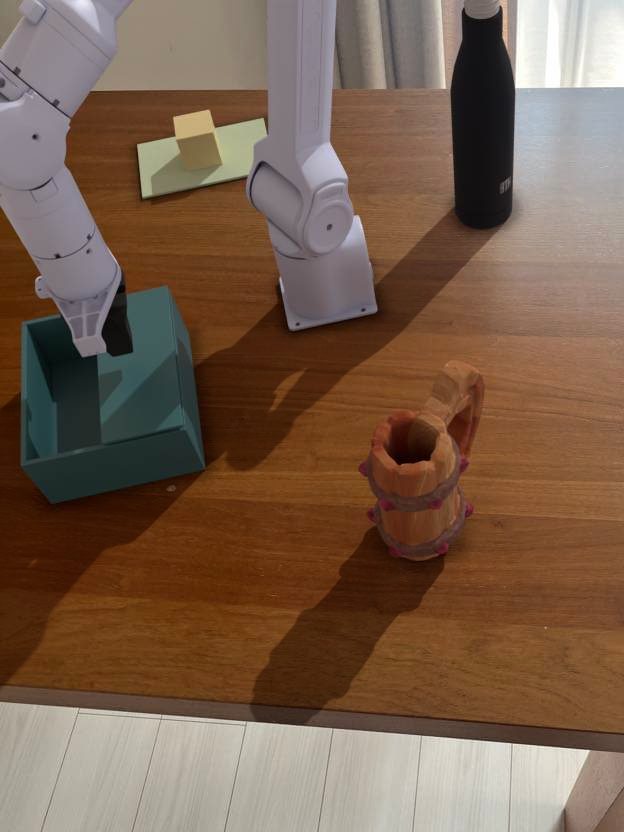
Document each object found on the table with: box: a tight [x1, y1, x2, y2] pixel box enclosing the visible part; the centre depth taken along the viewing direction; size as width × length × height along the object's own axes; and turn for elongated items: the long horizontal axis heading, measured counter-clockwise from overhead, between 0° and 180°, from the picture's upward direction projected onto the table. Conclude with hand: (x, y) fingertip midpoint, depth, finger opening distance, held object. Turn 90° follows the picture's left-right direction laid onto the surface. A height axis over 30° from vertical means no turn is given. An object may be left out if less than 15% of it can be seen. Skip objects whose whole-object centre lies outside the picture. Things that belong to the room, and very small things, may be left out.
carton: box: [20, 289, 206, 505], centre depth 86 cm, size 15×18×6 cm
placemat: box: [137, 117, 268, 200], centre depth 108 cm, size 16×10×1 cm, turn 102°
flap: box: [97, 285, 183, 445], centre depth 83 cm, size 7×18×1 cm, turn 12°
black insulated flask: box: [449, 0, 516, 230], centre depth 86 cm, size 6×6×30 cm
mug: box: [357, 359, 486, 562], centre depth 74 cm, size 15×8×15 cm, turn 148°
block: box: [172, 109, 223, 172], centre depth 106 cm, size 4×4×4 cm
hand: (122, 349), depth 82 cm, fingers closed
